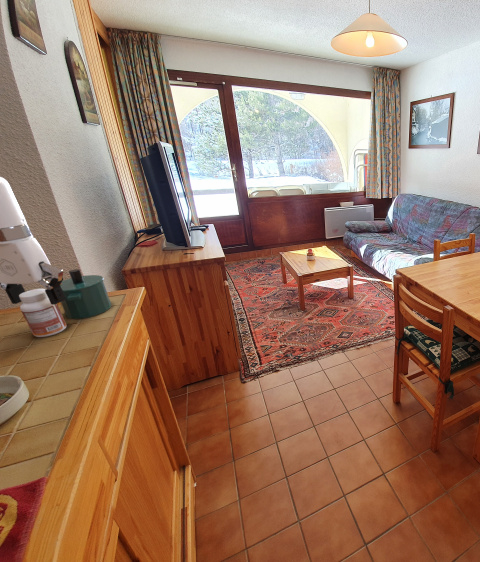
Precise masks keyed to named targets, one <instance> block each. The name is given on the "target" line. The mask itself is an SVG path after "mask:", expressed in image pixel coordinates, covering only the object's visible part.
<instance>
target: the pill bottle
mask: <svg viewBox="0 0 480 562" xmlns="http://www.w3.org/2000/svg"><path fill="white" fill-rule="evenodd" d="M46 289H47V288H35V289H31V290H27V291H26V290H25V292H24V293H21V294H20V295H19V297H20V299H21V301H22V302H21V304H20V305H19V309H20V312H21V313H22V315H23V318H24V319H25V321H26V323H27V325H28V328H29V329H30V332H31V333H32V335H33V337H35V338H47V337H51V336H54V335H57V334H59V333H61V332H63V331H64V330H65V329H66V328H67V323H66V321H65V319H64V316H63V314H62V312H61V310H60V308H59V306H58V305H59V304H58V303H57V304H55V305H52V304H51V303H50V301H49V298H48V296H47V294H46V292H45V290H46Z"/></svg>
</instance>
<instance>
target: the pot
mask: <svg viewBox="0 0 480 562" xmlns="http://www.w3.org/2000/svg"><path fill="white" fill-rule="evenodd" d="M63 293H64V295H65V297H66V299H65V300H63V301H61V302H60V305H61V307H62V309H63V311H64V313H65V315H66V317H67V318H68V319H70V320H72V319H73V320H80V319H86V318H92V317H95V316H98V315H100V314H103V313H105V312H107V311H108V310H110V309H111V308H112V302H111V299H110V297H109V294H108V291H107V288H106V285H105V282H104V281H103V282H101V283H100V284H98V285H95V286H93V287H90V288H86V289H82V290H77V291H70V292H63Z"/></svg>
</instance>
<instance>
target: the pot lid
mask: <svg viewBox="0 0 480 562" xmlns="http://www.w3.org/2000/svg"><path fill="white" fill-rule="evenodd" d="M68 274H69V277H70V278H67V279H63V281H62V285H60V286H61V288H62V290H63V292H70V291H77V290H82V289H86V288H90V287H93V286H95V285H98V284H100V283H101V282H103V283H104V280H105V279H104V277H103V276H102V275H98V274H89V275H82V273H81V269H78V268H75V269H71V270H68Z"/></svg>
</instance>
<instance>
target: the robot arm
mask: <svg viewBox="0 0 480 562" xmlns="http://www.w3.org/2000/svg"><path fill="white" fill-rule="evenodd" d="M63 277H64V270H63V269H61V268H60V267H57V266H54V265H52V264H51V262H50V260H49V258H48V256H47V255H46V253H45V251H44V249H43V247H42V246H41V245H40V243H39V242H38V241H37V239H36V237H34V235H33V233H32V231H31V229H30V226H29V225H28V223H27V220H26V217H25V215H24V214H23V211H22V210H21V207H20V204H19V203H18V200H17V198H16V196H15V194H14V192H13V190H12V187H11V184H9V182H8V180H7V179H5V177H2V176H0V288H1V289H3V290H4V291H5V293H6V295H7V297H8V298H9V300H10V302H11V304H13V305H17V304H19V303H23V302H22V301H21V299H20V297H19V295H20V294H21V293H24V292H26V290H25V288H24V286H23V285H35V284H37V283H38V284H40V285H41V286H42V287H44V289H46V290H45V292H46V294H47V296H48V298H49V301H50V303H51V304H52V305H55V304H57V305H58V304H59V303H61V301H63V300H65V299H66V297H65V295H64V293H63V290H62V288H61V286H60V285H62V281H64V278H63ZM47 280H49V282H48V281H47Z"/></svg>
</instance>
